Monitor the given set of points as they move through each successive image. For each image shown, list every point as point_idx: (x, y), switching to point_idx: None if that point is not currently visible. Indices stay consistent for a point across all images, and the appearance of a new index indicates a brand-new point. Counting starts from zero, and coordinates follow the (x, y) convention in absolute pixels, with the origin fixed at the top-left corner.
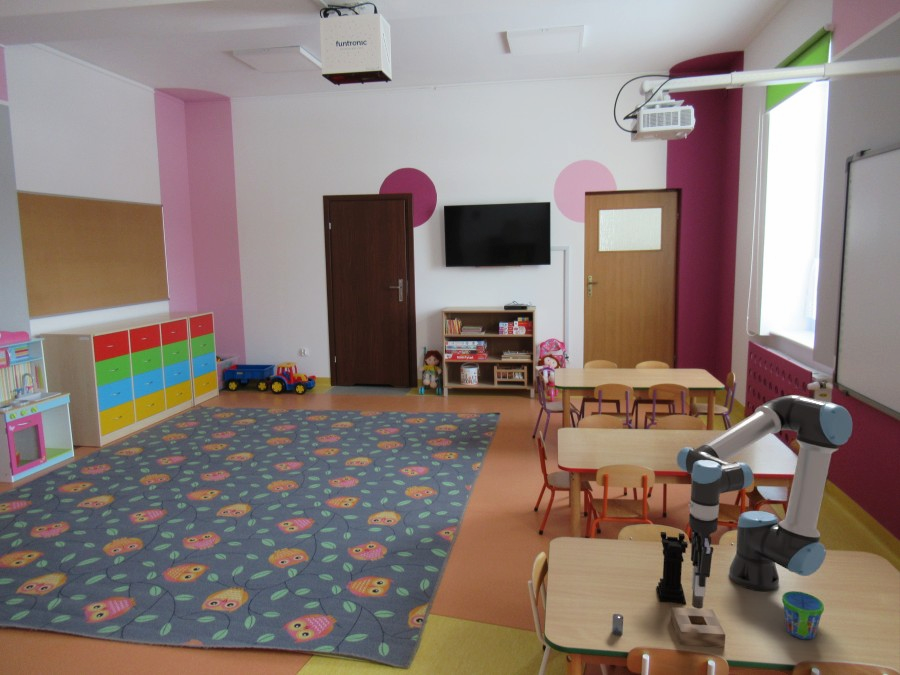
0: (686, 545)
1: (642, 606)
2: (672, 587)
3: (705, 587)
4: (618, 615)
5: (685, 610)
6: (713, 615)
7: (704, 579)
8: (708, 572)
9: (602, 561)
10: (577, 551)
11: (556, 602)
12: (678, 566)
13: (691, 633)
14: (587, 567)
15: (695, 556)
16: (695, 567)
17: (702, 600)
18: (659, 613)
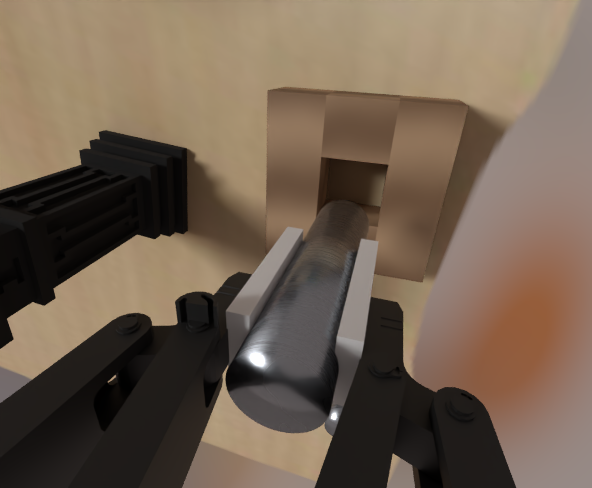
0: None
1: (221, 286)
2: (141, 204)
3: (373, 275)
4: (333, 425)
5: (282, 212)
6: (314, 105)
7: (400, 356)
8: (500, 479)
9: (33, 303)
10: (13, 340)
11: (232, 446)
12: (59, 220)
13: (431, 246)
14: (74, 344)
15: (180, 484)
16: (289, 431)
17: (361, 229)
18: (250, 254)
